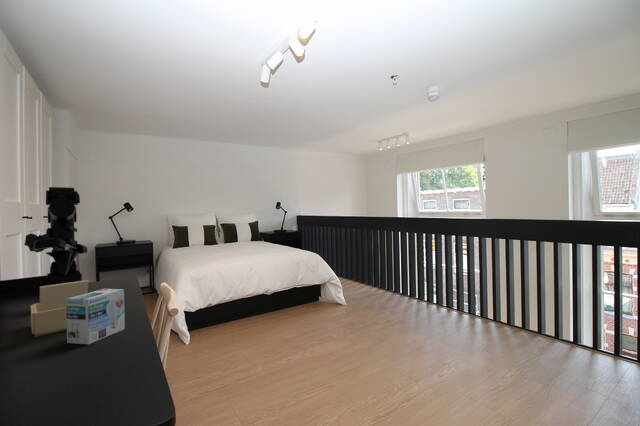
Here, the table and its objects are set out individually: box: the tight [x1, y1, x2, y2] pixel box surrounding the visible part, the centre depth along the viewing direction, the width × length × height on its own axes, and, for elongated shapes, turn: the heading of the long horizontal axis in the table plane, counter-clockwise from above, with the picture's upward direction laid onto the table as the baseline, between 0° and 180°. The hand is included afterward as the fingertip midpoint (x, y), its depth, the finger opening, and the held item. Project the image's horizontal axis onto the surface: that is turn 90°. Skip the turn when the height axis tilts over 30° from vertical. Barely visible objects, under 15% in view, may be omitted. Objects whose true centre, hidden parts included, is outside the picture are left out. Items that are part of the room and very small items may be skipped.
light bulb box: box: [66, 288, 126, 345], centre depth 77 cm, size 11×7×11 cm, turn 168°
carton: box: [30, 302, 67, 338], centre depth 86 cm, size 13×12×6 cm
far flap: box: [39, 279, 90, 312], centre depth 80 cm, size 8×10×1 cm
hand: (63, 274), depth 94 cm, fingers closed
